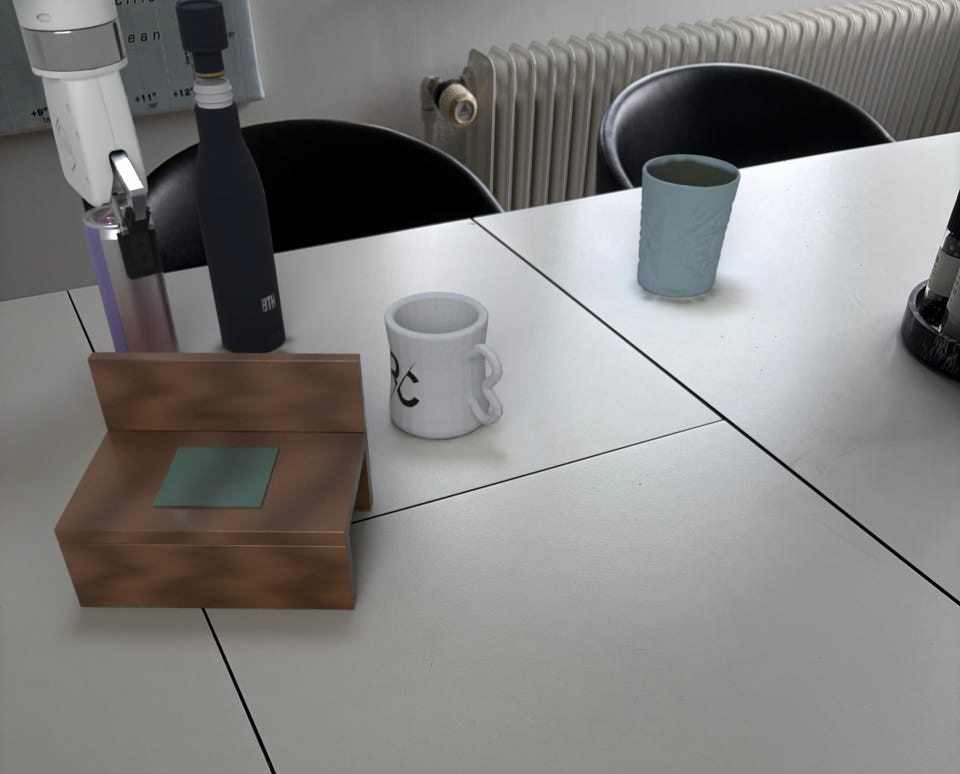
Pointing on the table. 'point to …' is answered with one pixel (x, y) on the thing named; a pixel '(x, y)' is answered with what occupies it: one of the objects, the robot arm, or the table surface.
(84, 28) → the robot arm
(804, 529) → the table surface
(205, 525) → the shelf
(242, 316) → the dark bottle
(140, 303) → the beverage can
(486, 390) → the mug
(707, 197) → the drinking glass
